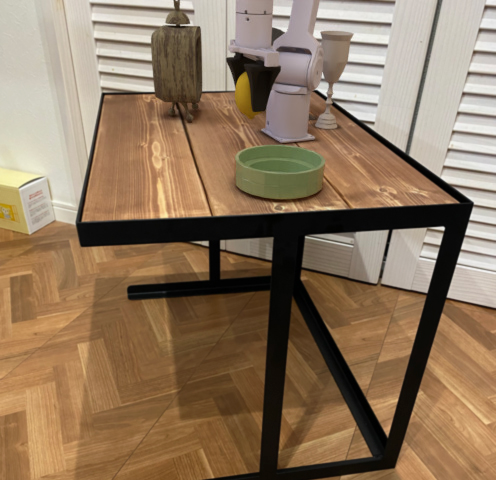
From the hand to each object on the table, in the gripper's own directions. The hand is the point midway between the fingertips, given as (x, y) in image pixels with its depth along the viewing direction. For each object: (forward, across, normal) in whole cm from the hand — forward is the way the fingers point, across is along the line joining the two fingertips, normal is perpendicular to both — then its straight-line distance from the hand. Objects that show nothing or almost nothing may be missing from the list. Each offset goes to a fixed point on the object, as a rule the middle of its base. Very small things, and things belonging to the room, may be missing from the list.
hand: (251, 107), depth 86 cm
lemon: (+2, 0, 0) cm, 2 cm away
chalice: (+10, -17, +27) cm, 33 cm away
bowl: (+10, +12, 0) cm, 15 cm away
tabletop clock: (+10, -35, -2) cm, 36 cm away
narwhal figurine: (+10, -32, +22) cm, 40 cm away
